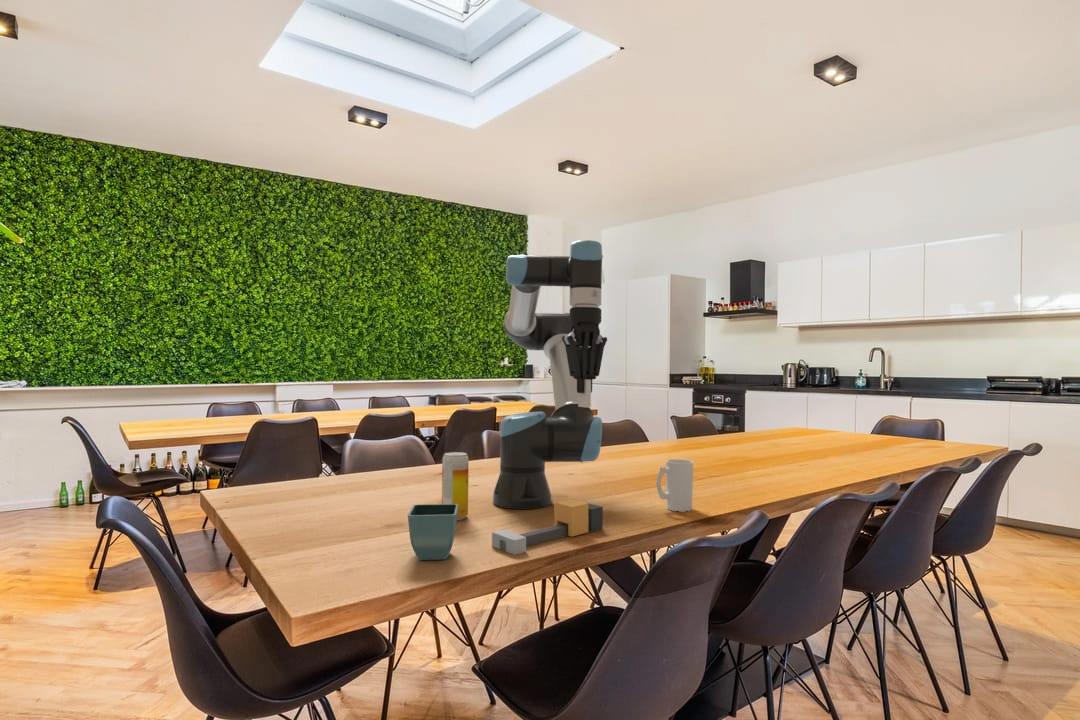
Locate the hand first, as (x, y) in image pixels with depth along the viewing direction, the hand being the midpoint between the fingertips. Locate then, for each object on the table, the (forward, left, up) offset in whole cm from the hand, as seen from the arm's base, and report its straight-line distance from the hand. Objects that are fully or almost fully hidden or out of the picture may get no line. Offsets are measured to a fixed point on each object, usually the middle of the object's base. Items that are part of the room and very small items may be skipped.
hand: (584, 406), depth 145 cm
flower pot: (-13, -40, -27) cm, 50 cm away
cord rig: (+1, -18, -26) cm, 32 cm away
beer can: (-26, -15, -27) cm, 40 cm away
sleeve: (+3, -13, -26) cm, 30 cm away
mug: (+16, +19, -27) cm, 36 cm away
